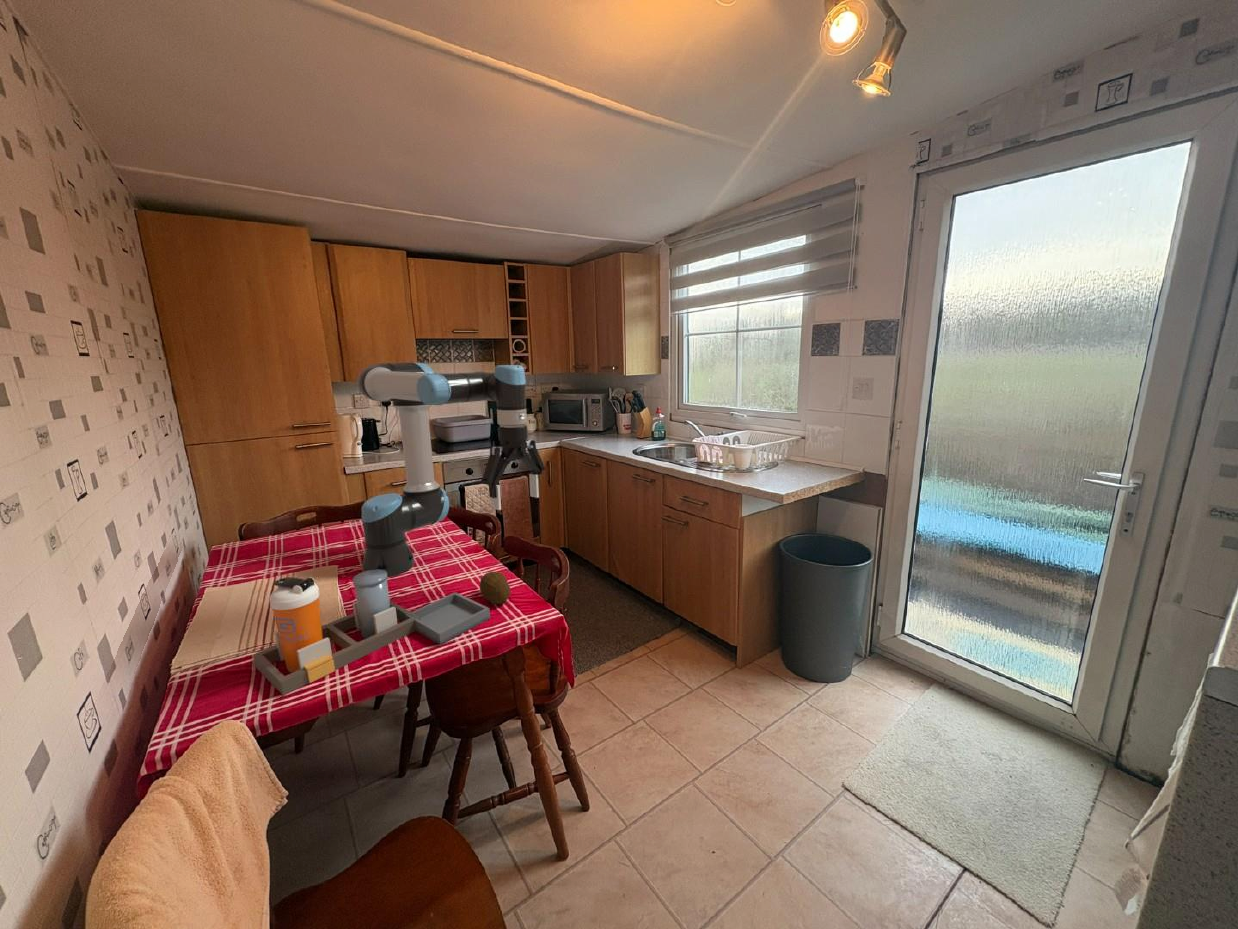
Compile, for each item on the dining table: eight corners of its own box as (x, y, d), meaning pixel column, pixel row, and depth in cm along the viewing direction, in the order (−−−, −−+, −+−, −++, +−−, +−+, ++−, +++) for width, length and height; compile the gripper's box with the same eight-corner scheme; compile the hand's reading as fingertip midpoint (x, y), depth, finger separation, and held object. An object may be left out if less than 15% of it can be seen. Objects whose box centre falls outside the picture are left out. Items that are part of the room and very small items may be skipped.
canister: (354, 632, 119) (347, 577, 115) (383, 619, 125) (377, 566, 121) (369, 643, 114) (362, 586, 111) (399, 629, 120) (392, 574, 117)
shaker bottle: (296, 652, 111) (282, 572, 106) (336, 650, 112) (324, 570, 107) (272, 677, 102) (256, 591, 98) (316, 675, 103) (302, 590, 98)
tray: (406, 625, 122) (405, 614, 121) (456, 602, 133) (455, 592, 133) (440, 645, 113) (439, 634, 113) (490, 618, 125) (489, 608, 124)
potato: (492, 612, 128) (491, 586, 126) (471, 595, 137) (469, 570, 135) (519, 602, 133) (517, 576, 132) (497, 586, 142) (496, 562, 140)
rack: (255, 666, 106) (249, 638, 104) (388, 609, 130) (385, 585, 128) (284, 696, 96) (278, 666, 95) (422, 628, 120) (419, 603, 119)
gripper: (483, 432, 113) (488, 517, 118) (555, 421, 133) (558, 494, 138) (463, 429, 118) (469, 511, 123) (536, 418, 137) (539, 490, 142)
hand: (516, 502), depth 130 cm, fingers open, 13 cm apart
